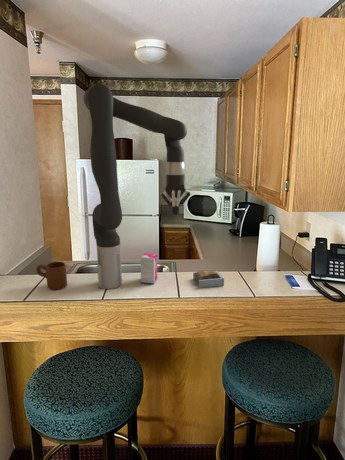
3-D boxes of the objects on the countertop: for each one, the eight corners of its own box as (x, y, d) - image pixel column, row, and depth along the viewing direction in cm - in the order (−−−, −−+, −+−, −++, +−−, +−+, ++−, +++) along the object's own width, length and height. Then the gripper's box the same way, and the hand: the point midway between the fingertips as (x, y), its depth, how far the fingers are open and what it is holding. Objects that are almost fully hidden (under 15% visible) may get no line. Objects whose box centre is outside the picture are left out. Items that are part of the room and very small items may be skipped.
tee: (201, 285, 134) (201, 276, 133) (196, 280, 139) (196, 271, 138) (218, 283, 136) (218, 274, 135) (213, 278, 141) (213, 269, 140)
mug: (33, 289, 130) (30, 267, 128) (42, 281, 138) (40, 260, 135) (62, 291, 129) (60, 268, 127) (70, 283, 136) (68, 261, 134)
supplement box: (154, 284, 135) (154, 258, 132) (140, 283, 136) (139, 257, 133) (157, 279, 140) (157, 253, 137) (144, 278, 141) (143, 252, 139)
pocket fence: (199, 287, 132) (199, 280, 131) (193, 279, 140) (193, 272, 140) (223, 285, 134) (224, 278, 133) (216, 277, 142) (216, 270, 142)
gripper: (160, 174, 130) (160, 217, 134) (193, 173, 132) (192, 216, 136) (157, 172, 137) (158, 213, 141) (189, 172, 139) (188, 212, 144)
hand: (175, 214), depth 139 cm, fingers closed
